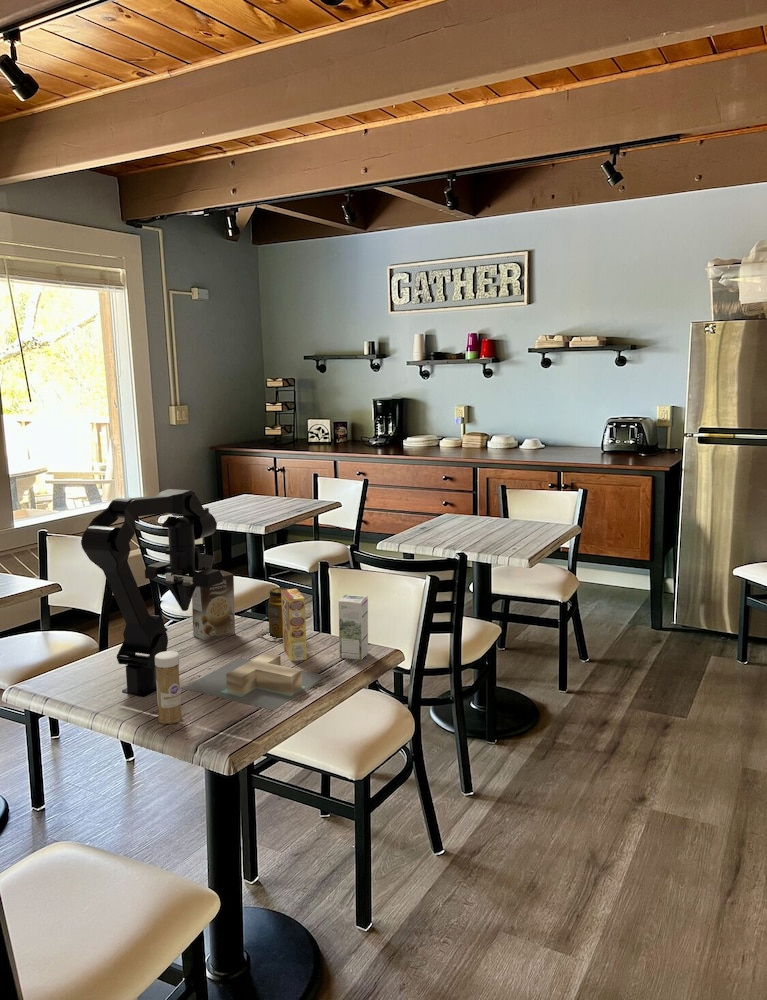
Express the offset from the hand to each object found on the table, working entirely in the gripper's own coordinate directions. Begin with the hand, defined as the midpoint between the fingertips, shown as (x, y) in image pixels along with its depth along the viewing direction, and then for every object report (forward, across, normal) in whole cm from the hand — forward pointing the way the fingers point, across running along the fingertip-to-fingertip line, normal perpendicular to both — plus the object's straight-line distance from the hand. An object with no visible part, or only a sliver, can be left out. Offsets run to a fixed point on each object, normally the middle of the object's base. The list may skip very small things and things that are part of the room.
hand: (185, 610), depth 179 cm
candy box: (+13, -19, -16) cm, 28 cm away
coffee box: (+13, +8, -19) cm, 24 cm away
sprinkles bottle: (+13, -17, +24) cm, 32 cm away
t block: (+13, -25, +2) cm, 28 cm away
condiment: (+13, -7, -26) cm, 30 cm away
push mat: (+13, -21, +2) cm, 25 cm away
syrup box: (+13, -32, -22) cm, 41 cm away
